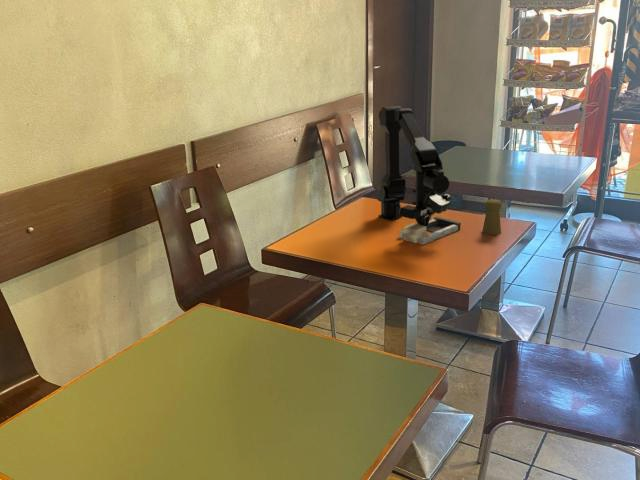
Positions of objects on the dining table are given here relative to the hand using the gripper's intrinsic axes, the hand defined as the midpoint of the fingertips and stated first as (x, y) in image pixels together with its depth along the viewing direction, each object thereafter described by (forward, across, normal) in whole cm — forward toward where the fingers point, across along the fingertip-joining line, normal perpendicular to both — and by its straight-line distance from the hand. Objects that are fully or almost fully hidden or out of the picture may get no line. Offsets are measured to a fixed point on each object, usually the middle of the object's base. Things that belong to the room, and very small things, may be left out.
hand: (423, 231), depth 205 cm
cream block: (+2, -4, 0) cm, 5 cm away
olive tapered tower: (+2, +19, -14) cm, 23 cm away
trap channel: (+2, +4, 0) cm, 4 cm away
